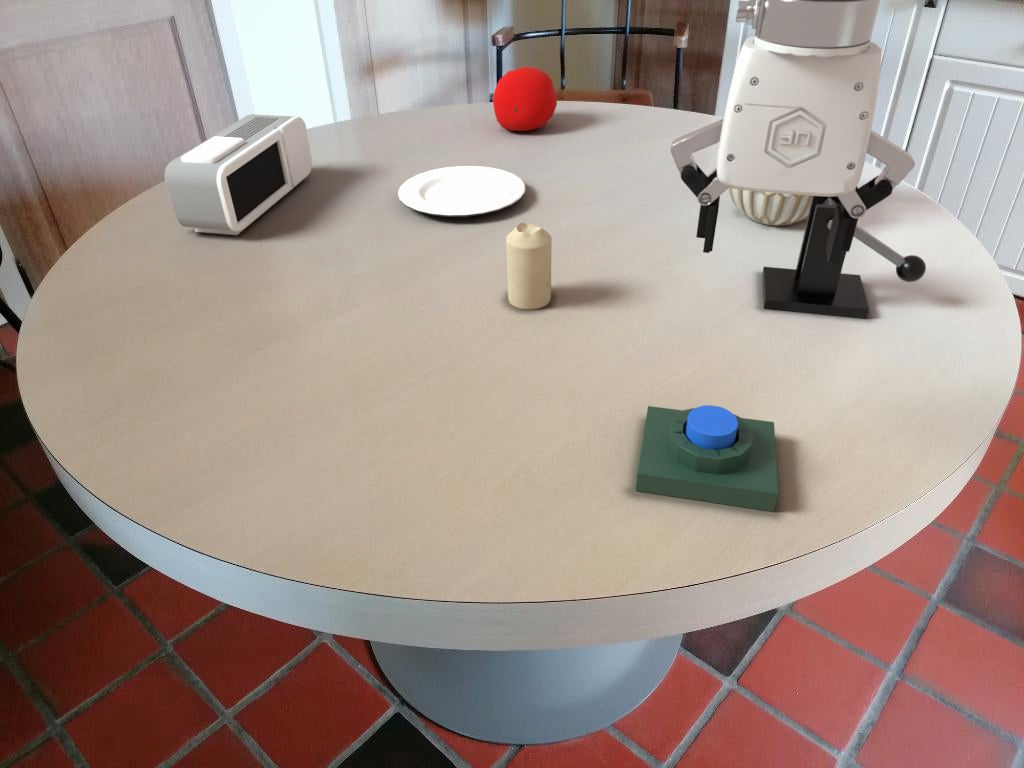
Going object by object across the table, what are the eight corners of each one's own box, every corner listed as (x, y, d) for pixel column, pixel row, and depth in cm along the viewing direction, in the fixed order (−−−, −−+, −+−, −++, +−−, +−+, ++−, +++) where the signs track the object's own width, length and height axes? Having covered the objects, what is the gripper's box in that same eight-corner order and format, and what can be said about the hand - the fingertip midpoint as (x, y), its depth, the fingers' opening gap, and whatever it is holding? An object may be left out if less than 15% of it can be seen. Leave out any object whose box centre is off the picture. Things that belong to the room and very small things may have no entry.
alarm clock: (237, 243, 112) (217, 165, 105) (181, 239, 113) (158, 161, 106) (315, 177, 133) (303, 108, 126) (267, 173, 135) (252, 105, 128)
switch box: (769, 439, 73) (777, 406, 71) (773, 512, 66) (782, 478, 63) (646, 422, 76) (649, 391, 73) (635, 491, 68) (638, 458, 66)
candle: (558, 295, 97) (560, 223, 91) (536, 314, 93) (536, 240, 87) (522, 284, 100) (521, 214, 94) (499, 303, 96) (497, 230, 90)
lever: (908, 279, 93) (929, 260, 91) (912, 291, 90) (934, 272, 88) (811, 213, 91) (830, 192, 89) (813, 224, 89) (833, 203, 87)
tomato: (519, 154, 149) (546, 136, 159) (553, 103, 140) (579, 86, 150) (470, 112, 149) (500, 96, 159) (501, 58, 140) (530, 45, 150)
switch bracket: (857, 283, 98) (884, 189, 90) (866, 318, 91) (896, 219, 83) (761, 275, 100) (780, 182, 93) (763, 308, 93) (783, 211, 86)
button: (735, 423, 70) (738, 408, 69) (735, 454, 66) (738, 438, 65) (687, 417, 71) (689, 402, 70) (684, 447, 67) (686, 432, 66)
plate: (533, 177, 130) (533, 167, 129) (516, 228, 114) (515, 216, 113) (416, 173, 133) (415, 163, 132) (383, 222, 117) (381, 211, 116)
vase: (850, 221, 113) (886, 83, 101) (771, 246, 107) (800, 101, 95) (772, 187, 125) (797, 59, 113) (697, 207, 119) (715, 74, 107)
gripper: (680, 29, 50) (656, 261, 60) (966, 38, 46) (889, 285, 56) (688, 7, 56) (665, 223, 66) (943, 14, 52) (877, 242, 62)
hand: (768, 251), depth 61 cm, fingers open, 9 cm apart
